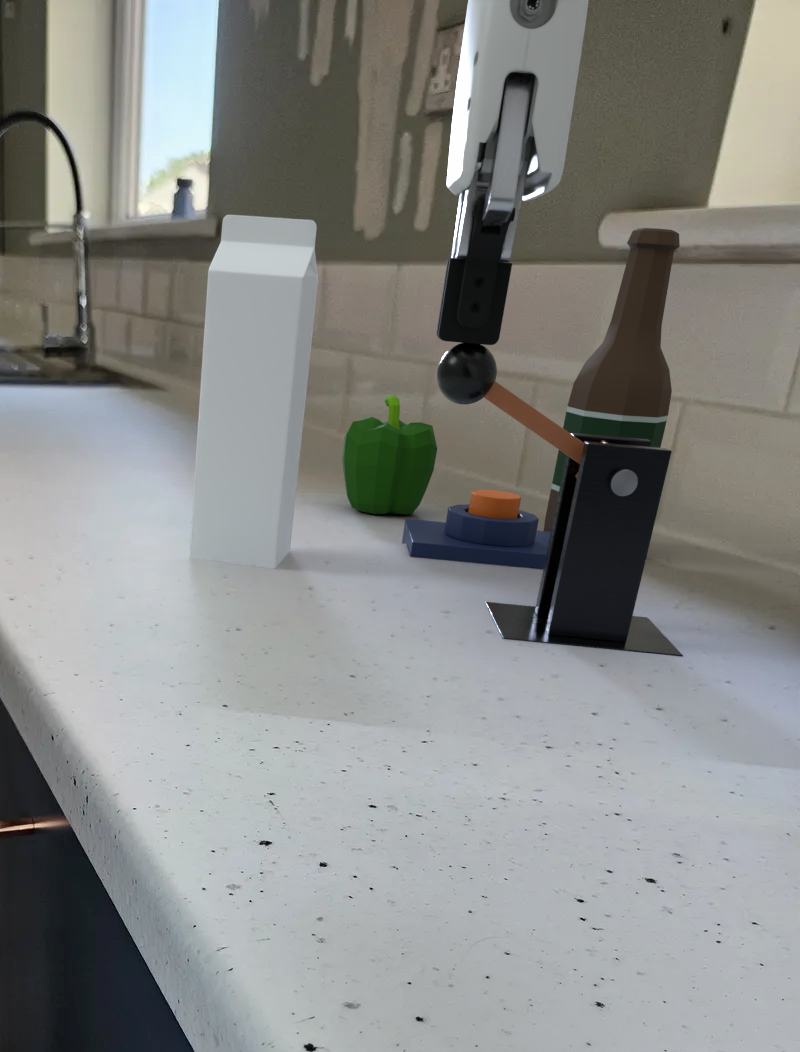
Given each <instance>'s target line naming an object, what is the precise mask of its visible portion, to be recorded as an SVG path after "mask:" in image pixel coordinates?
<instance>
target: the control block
mask: <svg viewBox="0 0 800 1052" xmlns="http://www.w3.org/2000/svg"><path fill="white" fill-rule="evenodd" d="M469 505H470V503H469V504H468V503H467V504H454V505H451V506H448V507H447V514H446V519H445V521H437V520H436V521H434V520H424V519H423V520H422V519H412V518H405V519H404V526H403V532H402V539H401V544H402V545H406V547H407V551H408V553H409V557H410V558H417V559H418V558H419V559H428V560H439V561H449V562H460V563H471V564H481V565H493V566H503V567H504V566H505V567H514V568H525V569H536V570H543V568H544V563H545V558H546V553H547V548H548V544H549V539H550V534H551V532H545V531H544V530H538V525H539V522H540V520H539V518H538V517H537V515H536V514H533V513H531V512H527V511H525V510H522V509H519V512H518V517H517V519H500V518H489V517H484V516H478V515H473V514H470V513H468V511H469Z"/></svg>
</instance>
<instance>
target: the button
mask: <svg viewBox="0 0 800 1052" xmlns="http://www.w3.org/2000/svg"><path fill="white" fill-rule="evenodd" d="M521 499H522V496H521V495H519V494H517V493H514V492H508V491H503V490H494V489H474V490H472V491H471V494H470V499H469V504H470V505H469V511H468V513H470V514H473V515H478V516H484V517H489V518H500V519H517V517H518V512H519V510H520V507H521V506H520V505H521Z"/></svg>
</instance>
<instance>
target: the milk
mask: <svg viewBox="0 0 800 1052" xmlns="http://www.w3.org/2000/svg"><path fill="white" fill-rule="evenodd" d="M221 223H222V224H221V235H220V236H221V237H220V243H219V245H218V247H217V249H216V252H215V254H214V256H213V258H212V261H211V262H210V265H209V268H208V271H207V285H206V297H205V298H206V299H205V314H204V330H203V342H202V343H203V346H202V357H201V358H202V360H201V373H200V389H199V404H198V419H197V435H196V448H195V450H196V451H195V463H194V481H193V492H192V493H193V494H192V508H191V522H190V523H191V526H190V538H189V539H190V540H189V554H188V558H189V559H191V560H200V561H207V562H215V563H223V564H233V565H240V566H245V567H256V568H263V569H269V570H275V569H277V568H278V566H279V565H280V564H281V563H282V562H283V561H284V559H285V558H286V557H287V556H288V555H289V554H290V552H291V544H292V535H293V526H294V516H295V506H296V497H297V487H298V477H299V468H300V458H301V449H302V438H303V432H304V431H303V429H304V422H305V421H304V420H305V411H306V401H307V392H308V382H309V371H310V363H311V353H312V352H311V351H312V344H313V334H314V324H315V316H316V305H317V296H318V286H319V272H318V265H317V264H318V263H317V255H316V247H315V246H316V239H317V229H318V228H317V227H318V226H317V222H315V220H313V219H300V218H289V217H274V216H273V217H272V216H256V215H241V214H226V215H225V216H223V219H222V222H221Z"/></svg>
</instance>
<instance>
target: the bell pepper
mask: <svg viewBox="0 0 800 1052" xmlns="http://www.w3.org/2000/svg"><path fill="white" fill-rule="evenodd" d="M384 404H385V406H386V407H388V419H387V421H383V422H382V421H381V420H380V419H379V418H376V417H374V416H365V417H363V418H361V419H359V420H355V421H352V422H351V424H350V426H349V429H348V430H347V432H346V434H345V436H344V438H343V447H342V457H341V458H342V460H341V461H342V469H343V479H344V485H345V493H346V497H347V500H348V502H349V504H350V507H351V508H352V509H354V510H357V511H359V512H362V513H366V514H371V515H377V516H379V515H388V514H389V515H393V516H394V515H395V516H406V515H411V514H413V513H414V512H415V511H416V510H417V509H418V508H419V507H420V505H421V503H422V500H423V498H424V495H425V494H426V491H427V489H428V487H429V484H430V482H431V481H430V480H431V478H432V476H433V473H434V471H435V465H436V459H437V453H438V444H437V440H436V436H435V431H434V427H433V425H432V424H428V423H425V422H422V421H420V422H409V423H405V422H403V421H402V420H400V416H401V415H400V413H401V412H400V411H401V405H400V399H399V398H398V396H396V395H395V394H388V395H386V397H385V398H384Z"/></svg>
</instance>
